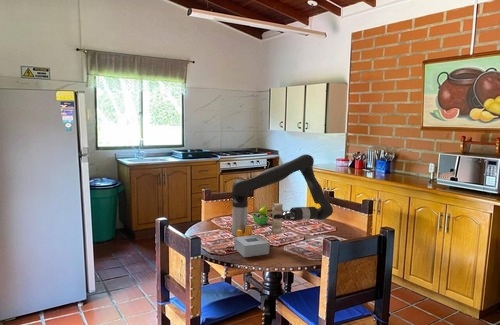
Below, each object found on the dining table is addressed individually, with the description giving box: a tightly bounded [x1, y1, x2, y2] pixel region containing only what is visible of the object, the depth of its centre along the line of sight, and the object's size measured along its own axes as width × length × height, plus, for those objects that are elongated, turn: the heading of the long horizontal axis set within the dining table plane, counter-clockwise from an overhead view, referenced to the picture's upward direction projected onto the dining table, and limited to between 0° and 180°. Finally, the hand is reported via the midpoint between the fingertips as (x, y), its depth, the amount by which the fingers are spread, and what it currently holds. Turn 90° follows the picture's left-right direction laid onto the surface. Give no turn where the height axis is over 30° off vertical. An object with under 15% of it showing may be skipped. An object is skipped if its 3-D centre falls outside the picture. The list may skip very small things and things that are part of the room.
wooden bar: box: [271, 202, 283, 235], centre depth 193 cm, size 3×4×16 cm
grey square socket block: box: [233, 234, 270, 258], centre depth 188 cm, size 14×14×6 cm
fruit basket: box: [252, 205, 270, 226], centre depth 242 cm, size 11×9×11 cm
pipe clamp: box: [235, 225, 253, 237], centre depth 208 cm, size 12×4×6 cm, turn 146°
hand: (272, 216), depth 192 cm, fingers closed on wooden bar, 3 cm apart
